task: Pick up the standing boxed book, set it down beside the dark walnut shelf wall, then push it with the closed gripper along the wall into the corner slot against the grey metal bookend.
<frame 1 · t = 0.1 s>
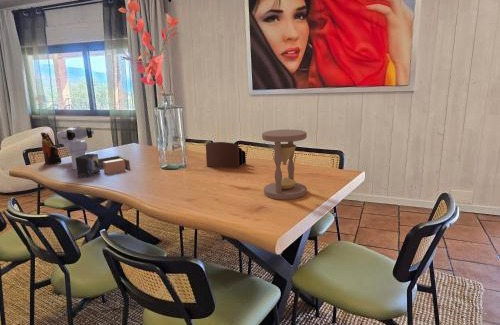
hand: (82, 134, 180), 22 cm above the table, tool horizontal, fingers open, 7 cm apart
hourglass: (285, 193, 141), on the table
small box: (89, 175, 183), on the table
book: (114, 171, 188), on the table
letter holder: (226, 166, 191), on the table
shelf: (111, 168, 195), on the table
statue: (52, 163, 216), on the table
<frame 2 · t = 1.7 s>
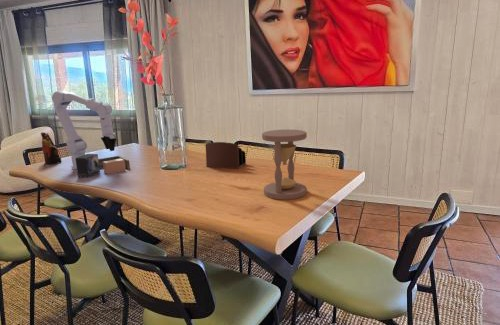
hand: (110, 149, 194), 10 cm above the table, tool pointing down, fingers open, 7 cm apart
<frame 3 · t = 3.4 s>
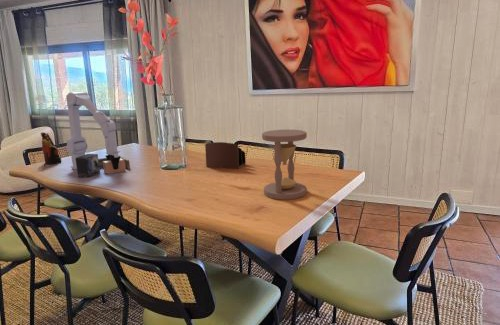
hand: (114, 168, 188), 2 cm above the table, tool pointing down, fingers closed on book, 5 cm apart
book: (114, 171, 188), on the table, touching gripper
when the fingers open (3 cm above the table, at t = 6.6 s): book stays where it is, on the table.
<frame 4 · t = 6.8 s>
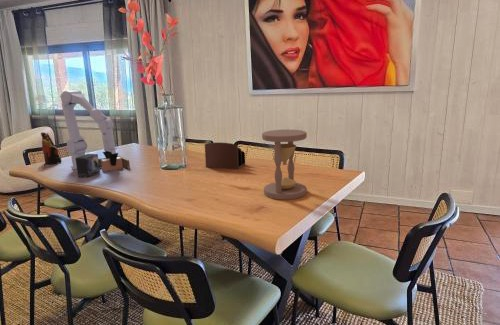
hand: (111, 164, 193), 3 cm above the table, tool pointing down, fingers open, 7 cm apart
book: (112, 169, 193), on the table
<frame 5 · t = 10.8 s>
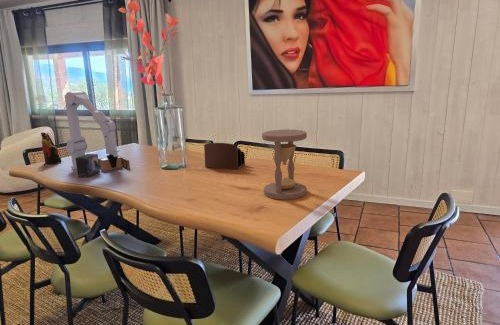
hand: (113, 167, 190), 1 cm above the table, tool pointing down, fingers closed
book: (111, 168, 194), on the table, touching gripper
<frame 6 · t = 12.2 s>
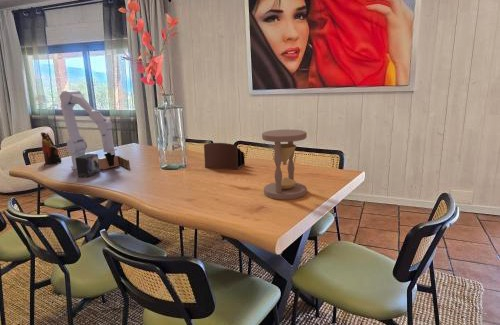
hand: (111, 165, 194), 2 cm above the table, tool pointing down, fingers closed, pressing on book
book: (108, 167, 196), on the table, tilted 5°, touching gripper, shelf
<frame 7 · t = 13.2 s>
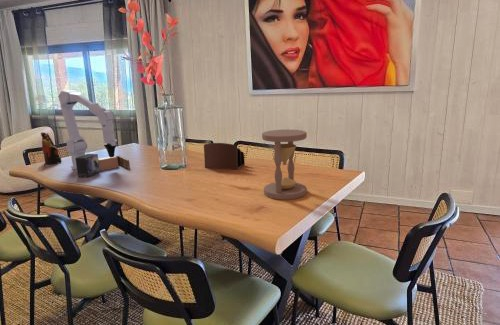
hand: (111, 157, 190), 7 cm above the table, tool pointing down, fingers closed
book: (108, 168, 196), on the table
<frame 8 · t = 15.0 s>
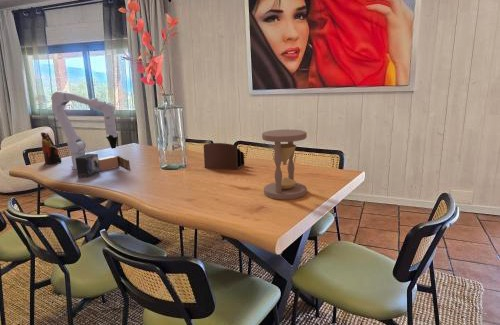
hand: (113, 148, 199), 10 cm above the table, tool pointing down, fingers closed
at the end: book inside the target area (0.9 cm from its centre), on the table; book tilted 0°; the gripper is holding nothing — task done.
